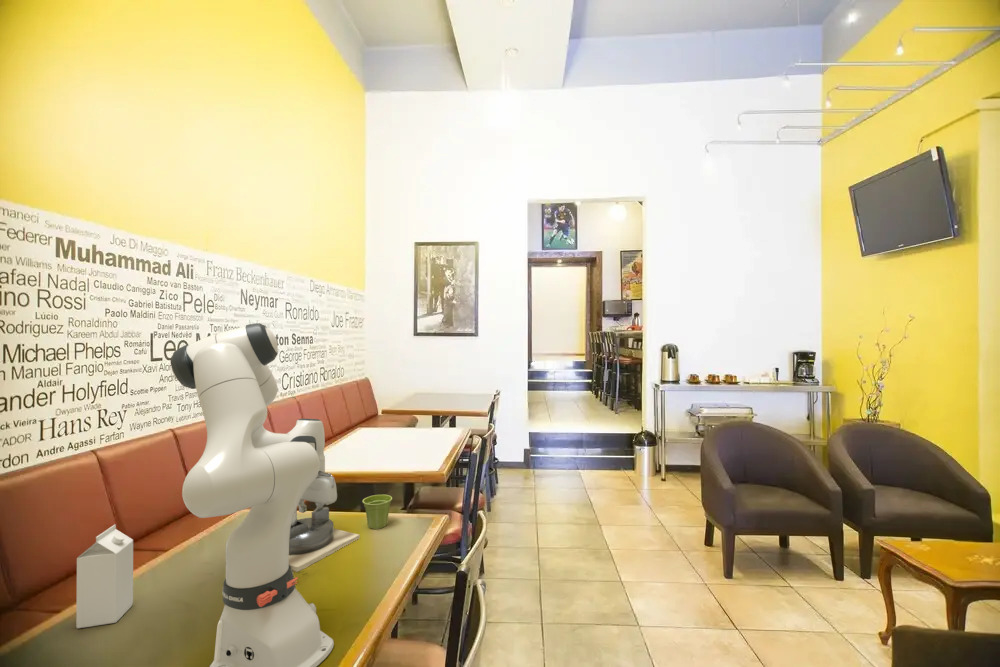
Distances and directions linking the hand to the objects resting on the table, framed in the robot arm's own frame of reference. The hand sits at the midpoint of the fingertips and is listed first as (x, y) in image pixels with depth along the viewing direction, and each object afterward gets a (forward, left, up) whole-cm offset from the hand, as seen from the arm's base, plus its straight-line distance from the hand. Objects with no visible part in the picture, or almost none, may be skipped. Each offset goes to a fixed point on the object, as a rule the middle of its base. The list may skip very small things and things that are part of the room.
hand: (310, 513), depth 139 cm
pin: (-5, +11, -1) cm, 12 cm away
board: (-5, +6, -7) cm, 10 cm away
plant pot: (-14, -15, -7) cm, 22 cm away
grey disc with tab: (-5, +6, -5) cm, 9 cm away
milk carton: (+6, +49, -7) cm, 50 cm away
